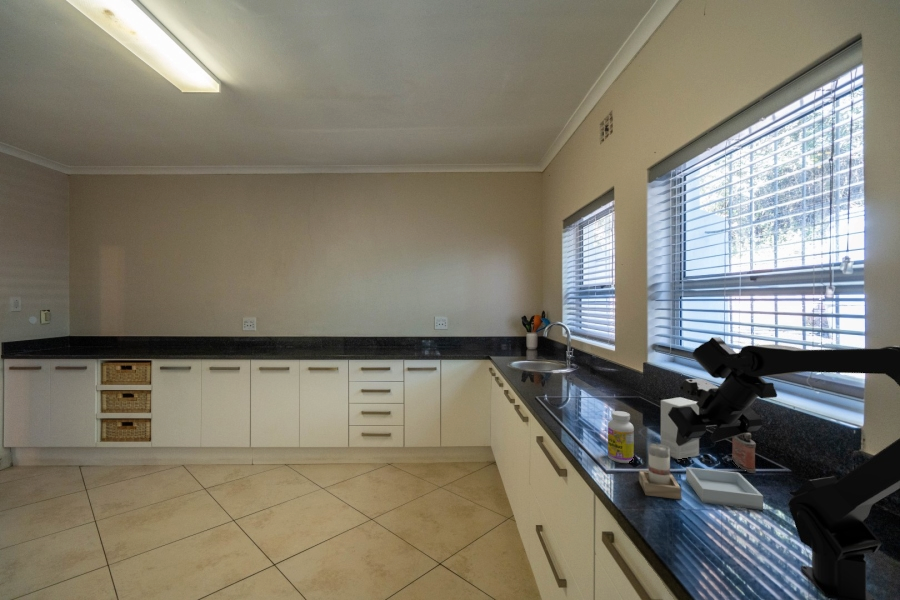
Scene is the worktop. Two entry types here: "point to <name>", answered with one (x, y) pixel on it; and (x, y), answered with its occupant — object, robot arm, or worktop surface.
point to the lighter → (744, 452)
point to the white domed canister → (659, 464)
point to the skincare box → (671, 429)
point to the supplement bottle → (620, 437)
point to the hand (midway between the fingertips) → (695, 442)
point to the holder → (659, 487)
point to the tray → (724, 488)
